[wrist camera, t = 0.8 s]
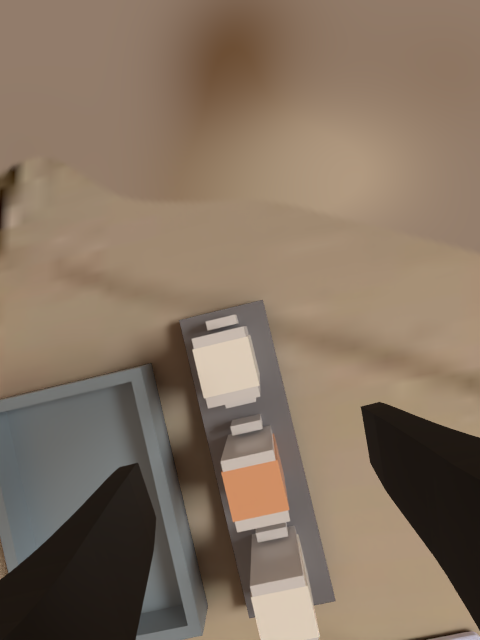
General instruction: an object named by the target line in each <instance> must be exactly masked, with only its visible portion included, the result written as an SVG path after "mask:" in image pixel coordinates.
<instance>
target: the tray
mask: <svg viewBox="0 0 480 640" xmlns="http://www.w3.org/2000/svg"><path fill="white" fill-rule="evenodd" d="M134 463H138V464H139V467H140V470H141V473H142V476H143V479H144V482H145V485H146V488H147V491H148V494H149V497H150V500H151V503H152V506H153V509H154V512H155V515H156V531H155V543H154V552H153V557H152V562H151V567H150V572H149V577H148V582H147V587H146V592H145V597H144V601H143V606H142V611H141V616H140V620H139V625H138V630H137V635H136V640H182V639H187V638H192V637H197V636H202V635H203V630H204V625H205V619H206V614H207V608H208V605H207V600H206V596H205V592H204V587H203V583H202V579H201V575H200V570H199V566H198V562H197V557H196V553H195V549H194V544H193V540H192V536H191V532H190V527H189V523H188V519H187V514H186V510H185V506H184V502H183V497H182V493H181V489H180V484H179V480H178V476H177V472H176V467H175V463H174V459H173V454H172V450H171V446H170V441H169V437H168V433H167V429H166V424H165V420H164V416H163V411H162V407H161V403H160V399H159V394H158V390H157V386H156V381H155V377H154V373H153V368H152V364H151V363H150V364H145V365H141V366H137V367H133V368H129V369H124V370H120V371H116V372H112V373H108V374H103V375H99V376H95V377H91V378H87V379H82V380H78V381H74V382H70V383H66V384H62V385H57V386H53V387H49V388H45V389H41V390H36V391H32V392H28V393H24V394H20V395H15V396H11V397H7V398H3V399H0V538H1V542H2V547H3V551H4V556H5V560H6V565H7V569H8V573H10V572H11V571H12V570H13V569H14V568H16V567H17V566H18V565H19V564H20V563H21V562H23V561H24V560H25V559H26V558H27V557H29V556H30V555H31V554H32V553H33V552H34V551H35V550H37V549H38V548H39V547H40V546H41V545H42V544H43V543H44V542H45V541H46V540H47V539H49V538H50V537H51V536H52V535H53V534H54V533H55V532H56V531H57V530H58V529H59V528H60V527H61V526H62V525H63V524H64V523H65V522H66V521H67V520H68V519H69V518H70V517H71V516H72V515H73V514H74V513H75V512H76V511H77V510H78V509H79V508H80V507H81V506H82V505H83V504H84V503H85V501H86V500H87V499H88V498H89V497H90V496H91V495H92V494H93V493H94V492H95V491H96V490H97V489H98V488H99V487H100V486H101V485H102V484H103V482H104V481H105V480H106V479H107V478H108V477H109V476H110V475H111V474H112V473H113V472H114V471H115V470H117V469H118V468H119V467H122V466H126V465H130V464H134Z"/></svg>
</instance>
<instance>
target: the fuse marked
mask: <svg viewBox="0 0 480 640" xmlns="http://www.w3.org/2000/svg"><path fill="white" fill-rule="evenodd" d="M220 462H221V466H222V471H221V474H222V478H223V482H224V486H225V491H226V495H227V499H228V503H229V508H230V512H231V516H232V520H233V522H235V525H236V529H237V532H242V531H247V530H251V529H256V528H261V527H266V526H270V525H275V524H280V523H284V522H289V521H290V516H289V504H288V498H287V491H286V485H285V479H284V473H283V469H282V464H281V460H280V456H279V452H278V448H277V444H276V440H275V435H274V433H272V429H271V425H269V426H264V427H263V429H260V430H256V431H251V432H247V433H242V434H238V435H234V436H232V434H229V435H228V437H227V441H226V444H225V447H224V451H223V454H222V458H221V461H220Z"/></svg>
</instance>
